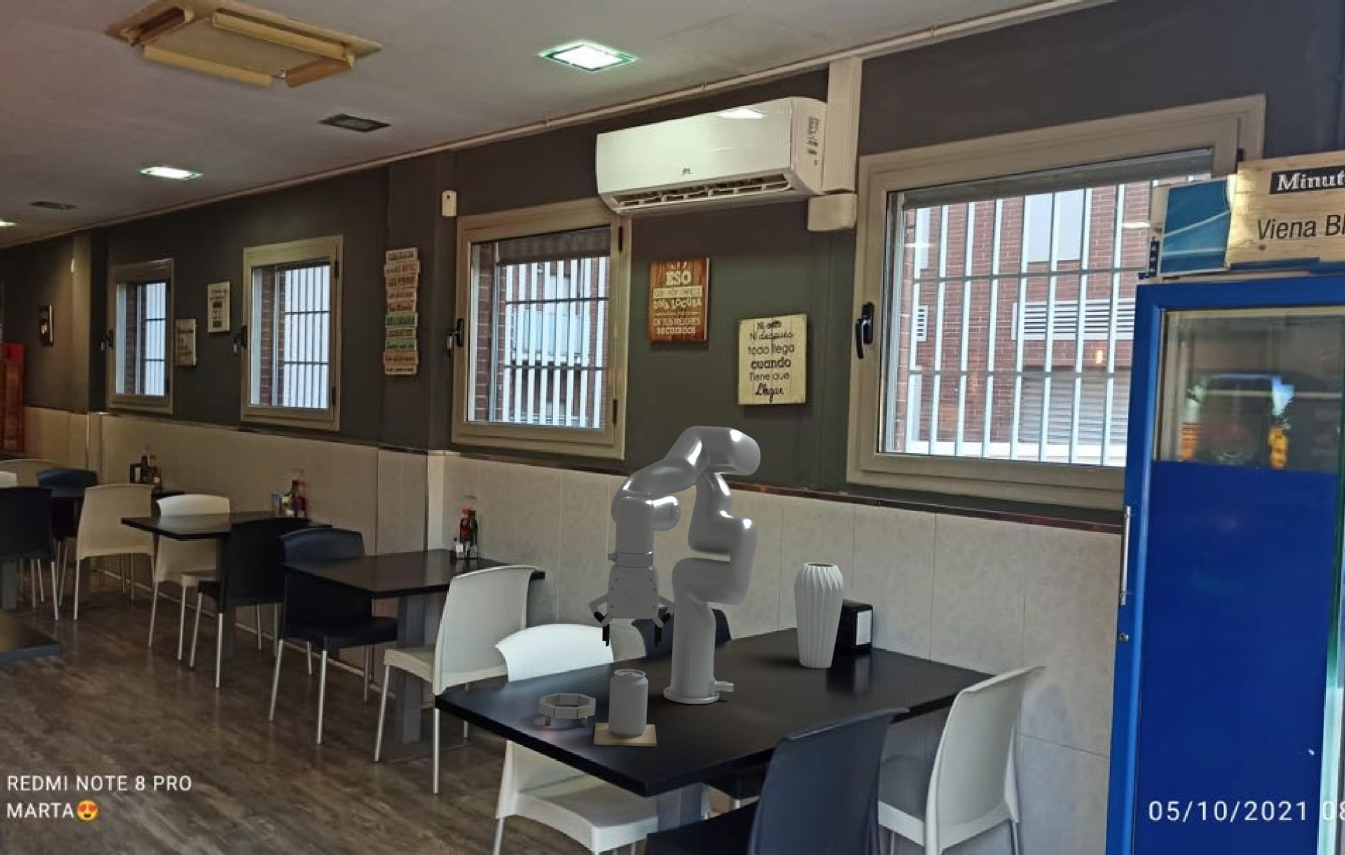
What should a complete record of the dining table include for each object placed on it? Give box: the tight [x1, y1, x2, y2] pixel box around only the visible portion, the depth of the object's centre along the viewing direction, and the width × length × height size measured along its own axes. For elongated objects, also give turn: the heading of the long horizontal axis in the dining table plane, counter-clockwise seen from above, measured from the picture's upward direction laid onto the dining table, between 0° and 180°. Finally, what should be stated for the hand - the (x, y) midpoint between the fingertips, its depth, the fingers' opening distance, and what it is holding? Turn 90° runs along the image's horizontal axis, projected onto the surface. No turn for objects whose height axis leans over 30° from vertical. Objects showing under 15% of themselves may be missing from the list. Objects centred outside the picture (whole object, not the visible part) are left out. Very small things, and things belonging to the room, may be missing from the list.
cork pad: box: [593, 722, 657, 747], centre depth 207 cm, size 12×12×1 cm
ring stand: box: [538, 692, 597, 728], centre depth 216 cm, size 11×11×4 cm
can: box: [607, 668, 649, 737], centre depth 207 cm, size 8×8×12 cm
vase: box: [793, 562, 845, 669], centre depth 275 cm, size 13×13×26 cm
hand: (631, 645), depth 208 cm, fingers open, 9 cm apart
